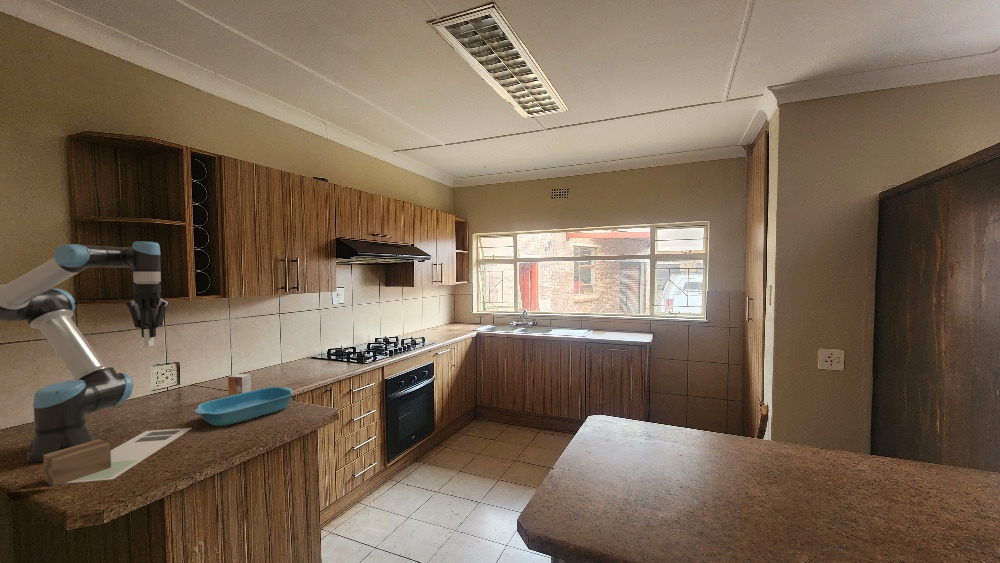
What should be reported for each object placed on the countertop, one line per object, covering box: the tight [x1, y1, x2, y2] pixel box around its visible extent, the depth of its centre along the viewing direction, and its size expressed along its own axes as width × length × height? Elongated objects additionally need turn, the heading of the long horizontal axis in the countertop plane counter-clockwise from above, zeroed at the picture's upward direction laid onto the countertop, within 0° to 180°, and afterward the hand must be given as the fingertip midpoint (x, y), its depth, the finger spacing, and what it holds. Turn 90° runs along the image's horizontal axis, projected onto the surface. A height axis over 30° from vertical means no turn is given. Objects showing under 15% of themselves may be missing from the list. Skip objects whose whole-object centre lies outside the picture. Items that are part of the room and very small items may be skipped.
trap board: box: [48, 427, 193, 487], centre depth 130 cm, size 16×38×1 cm, turn 10°
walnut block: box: [43, 438, 112, 487], centre depth 116 cm, size 8×12×8 cm, turn 153°
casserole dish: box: [194, 386, 293, 427], centre depth 167 cm, size 37×22×7 cm, turn 145°
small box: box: [227, 373, 252, 397], centre depth 191 cm, size 8×6×10 cm
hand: (149, 346), depth 143 cm, fingers closed
